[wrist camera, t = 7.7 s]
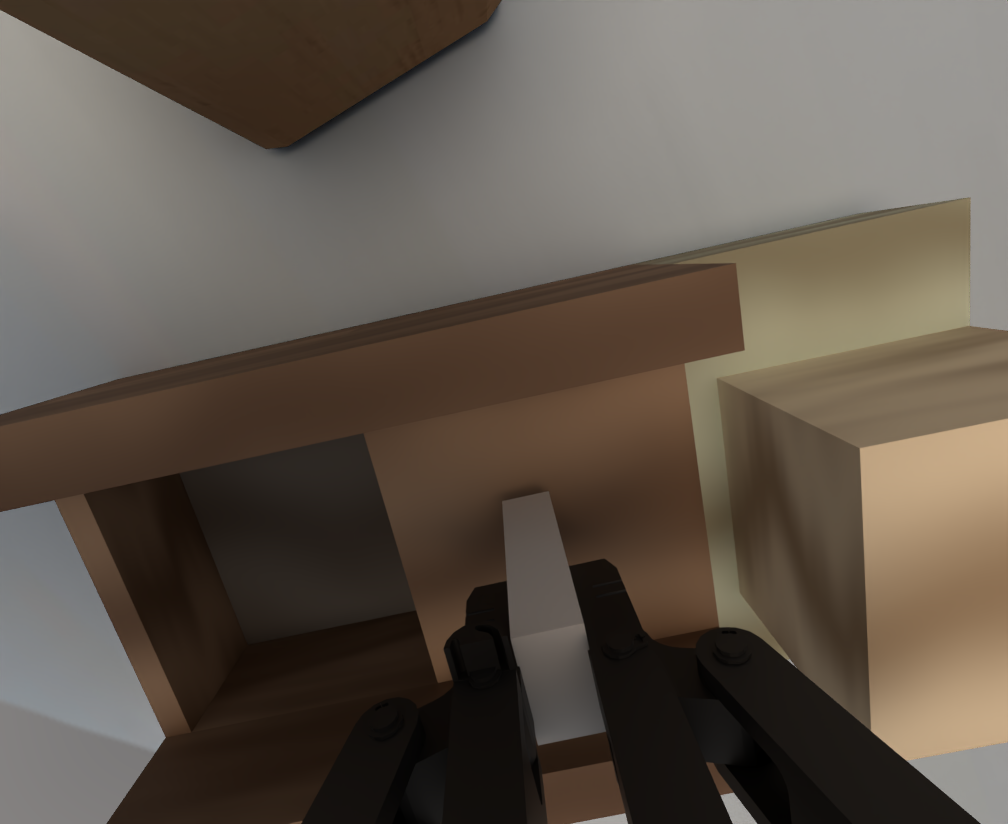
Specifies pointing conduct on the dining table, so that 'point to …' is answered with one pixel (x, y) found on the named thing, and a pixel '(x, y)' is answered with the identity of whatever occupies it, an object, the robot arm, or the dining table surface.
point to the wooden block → (258, 51)
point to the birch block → (882, 529)
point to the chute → (439, 490)
